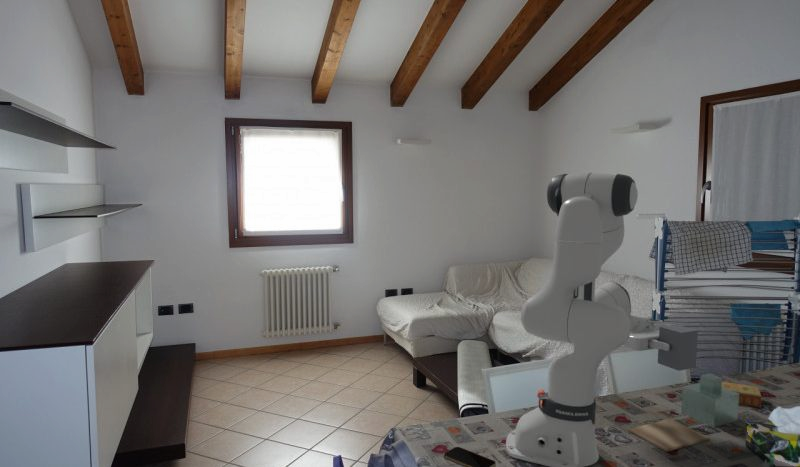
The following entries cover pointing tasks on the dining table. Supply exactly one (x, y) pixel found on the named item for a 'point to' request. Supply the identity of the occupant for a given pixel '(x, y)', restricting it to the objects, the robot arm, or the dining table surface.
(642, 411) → the dining table surface
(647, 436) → the mat
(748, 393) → the carton
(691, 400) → the grey-green block
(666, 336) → the grey rectangular block
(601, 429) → the dining table surface
